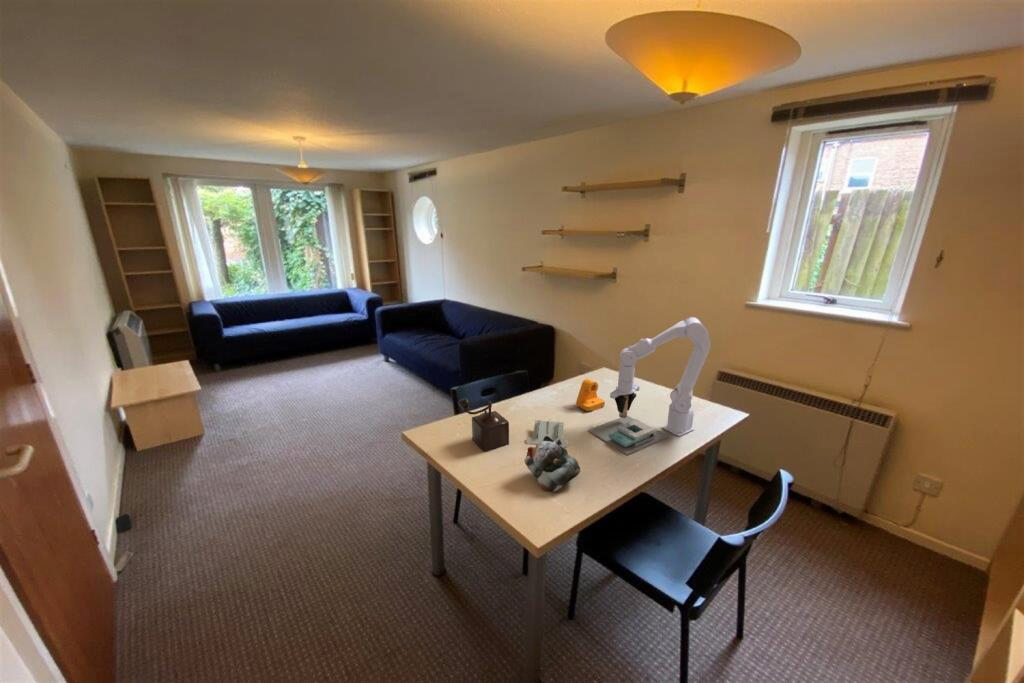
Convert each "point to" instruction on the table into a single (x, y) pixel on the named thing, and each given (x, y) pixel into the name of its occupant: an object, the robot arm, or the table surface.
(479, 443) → the brown coffee grinder
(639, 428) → the peg hole fixture
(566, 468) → the lucky cat figurine
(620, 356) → the robot arm
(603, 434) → the rubber mat
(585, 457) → the table surface
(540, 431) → the metal bracket
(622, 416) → the maple pin
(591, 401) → the bracket
